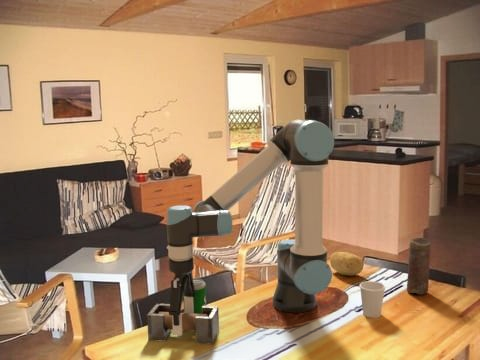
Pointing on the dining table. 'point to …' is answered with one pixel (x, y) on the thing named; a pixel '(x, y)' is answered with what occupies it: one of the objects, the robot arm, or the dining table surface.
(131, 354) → the dining table surface
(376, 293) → the dixie cup
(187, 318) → the brown wooden log
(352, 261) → the potato
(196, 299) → the soda can
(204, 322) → the bracket
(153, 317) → the bracket
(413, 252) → the candle
